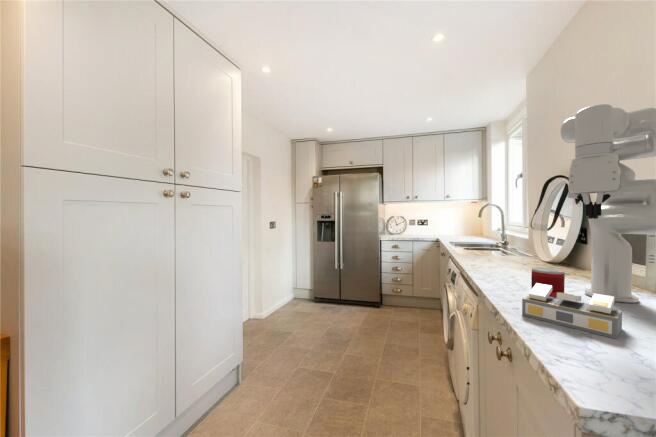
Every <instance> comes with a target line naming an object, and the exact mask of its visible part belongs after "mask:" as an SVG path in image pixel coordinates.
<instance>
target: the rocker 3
mask: <svg viewBox="0 0 656 437" xmlns="http://www.w3.org/2000/svg"><path fill="white" fill-rule="evenodd" d="M615 302H616V301H614V296H608V295H602V294H596V293H594V294H593V296H591V298H590V300H589V302H588V304H589V310H594V311H599V312H604V313H609V314H610V313H611V311H612V308H613V307H614V304H615ZM613 309H614V308H613Z"/></svg>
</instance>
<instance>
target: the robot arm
mask: <svg viewBox="0 0 656 437" xmlns="http://www.w3.org/2000/svg"><path fill="white" fill-rule="evenodd" d="M559 133H560V136H561V138H562V140H563V141H564V142H565V143H567V144H574V158H573V159H571V162H570V167H569V175H568V184H567V186H568V188H567V189H568V194H567V197H568V198H569V199H573V200H574V199H577V200H579V201H581V203H583V204H584V205H585V217H586V216H587V217H588V223H589V224H588V225H589V229H590V236H591V270H590V271H591V273H590V274H591V275H590V276H591V282H590V286H591V288H586V289H584V293H585V295H587V296H589V297H592V296H593V294H594V293H596V294H602V295H608V296H614V301H615V302H618V303H628V304H630V303H632V304H633V303H639V302H640V301H639V300H640V298H639V297H638V296H635V295H633V294H632V287H633V286H632V283H633V281H632V280H633V270H632V269H633V265H632V264H633V248H632V245H631V244H630V242H629V241H628V240H626V239H625V238H624V237H623V236H622V234H623V235H624V234H625V235H628V234H629V235H631V234H632V235H656V178H655V179H654V178H652V179H636V173H635V170H633V169H632V168H631V167H629V166H627V165H626V164H624V163H621V162H622V161H629V160H639V159H646V158H647V159H649V158H654V157H656V108H655V107H646V108H645V107H644V108H642V109H636V110H632V111H626V110H624V109H622V108H620V107H613V106H612V105H611V104H609V103H607V104H605V103H602V104H596V105H590V106H586V107H584V108H582V109H579V110H578V111H577V112H576V114H575V115H574V116H573V117H569V118H567V119H565V120H564V121H563V122H562V124H561V126H560V132H559ZM635 179H636V180H635ZM590 194H596V199H595V201H594V202H593V201H592V199H591V198H592V197H591V195H590Z"/></svg>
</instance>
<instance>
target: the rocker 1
mask: <svg viewBox="0 0 656 437" xmlns="http://www.w3.org/2000/svg"><path fill="white" fill-rule="evenodd" d="M551 292H552V286H551V285H545V284H538V283H536V284H535V286H534V287H533V288H532V290H530V291H529V292H528V296H529V298H532V299H537V300H542V301H546V299H547V298H548V296H549V295H550V293H551Z"/></svg>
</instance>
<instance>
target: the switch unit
mask: <svg viewBox="0 0 656 437" xmlns="http://www.w3.org/2000/svg"><path fill="white" fill-rule="evenodd" d="M521 300H522V301H521V302H522V303H521V305H522V306H521V307H522V309H521V312H522V313H521V315H522V316H523V317H528V318H532V319H537V320H540V321H544V322H546V323H547V322H548V323H552V324H556V325H560V326H563V327H568V328H572V329H576V330H578V331H583V332H588V333H590V334H596V335H600V336H604V337H608V338H612V339H615V340H617V339H618V338H619V336H620V333H621V332H622V330H623V324H622V323H623V310H621V309H617V308H612V311H611V313H610V314H609V313H604V312H599V311H594V310H589V303H586V302H582V301H571V300H565V299H560V298H555V297H550V296H548V298H547V299H546V301H542V300H537V299H532V298H529V295H527V296H524V297H523V298H522V299H521Z"/></svg>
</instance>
